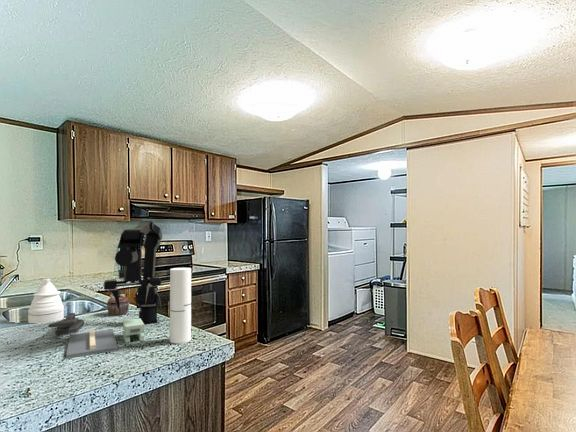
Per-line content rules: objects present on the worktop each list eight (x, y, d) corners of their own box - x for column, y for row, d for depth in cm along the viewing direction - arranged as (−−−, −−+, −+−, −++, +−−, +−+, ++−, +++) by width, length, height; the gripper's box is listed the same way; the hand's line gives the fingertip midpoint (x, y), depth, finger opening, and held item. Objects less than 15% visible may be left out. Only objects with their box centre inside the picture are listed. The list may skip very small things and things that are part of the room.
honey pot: (63, 320, 151) (64, 279, 152) (26, 325, 144) (27, 281, 145) (63, 314, 162) (64, 275, 163) (29, 318, 155) (30, 278, 156)
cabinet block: (140, 333, 132) (140, 318, 133) (144, 340, 123) (144, 324, 123) (123, 335, 129) (123, 320, 130) (125, 343, 120) (125, 327, 120)
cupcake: (132, 314, 163) (132, 292, 163) (110, 317, 156) (110, 295, 156) (125, 310, 170) (125, 289, 170) (103, 314, 163) (103, 292, 163)
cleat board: (112, 331, 134) (112, 325, 134) (117, 350, 113) (117, 343, 113) (69, 337, 127) (69, 331, 127) (66, 358, 106) (66, 351, 106)
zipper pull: (45, 325, 120) (59, 310, 143) (45, 344, 120) (59, 326, 142) (75, 322, 123) (85, 307, 146) (75, 341, 123) (84, 323, 146)
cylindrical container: (194, 339, 123) (195, 268, 124) (176, 344, 118) (176, 270, 119) (184, 335, 128) (184, 267, 129) (165, 340, 123) (166, 268, 124)
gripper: (156, 260, 139) (156, 300, 139) (103, 263, 130) (103, 305, 129) (161, 262, 129) (161, 305, 129) (104, 265, 120) (104, 311, 120)
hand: (132, 306), depth 127 cm, fingers open, 9 cm apart
